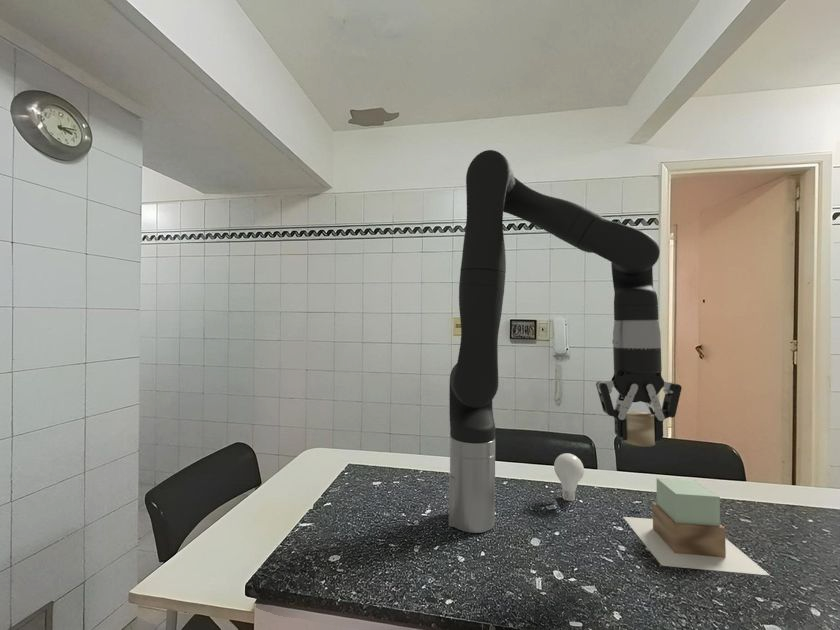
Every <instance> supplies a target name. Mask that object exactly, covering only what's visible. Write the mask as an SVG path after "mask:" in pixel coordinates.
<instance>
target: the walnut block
mask: <svg viewBox="0 0 840 630" xmlns="http://www.w3.org/2000/svg"><path fill="white" fill-rule="evenodd" d="M652 519H653V529H654V530H655V532H656V533H657V534H658V535H659V536H660V537H661V538H662V539H663V540H664V542H665V543H666V544H667V545H668V546H669V547H670V548H671V549H672V550H673V552H674V553H679V554H690V555H702V556H713V557H724V558H726V548H725V538H726V527H725V526H724V525H722V524H721V523H720V526H712V525H699V524H686V523H676V522H675V521H674V520H673V519H672V518H671V517H670V516H669V515H668V514H667V513H666V512H665V511H663V510H662V509H661V508H660V507H659V506H658V505H657V502H652Z"/></svg>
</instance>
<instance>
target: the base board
mask: <svg viewBox="0 0 840 630" xmlns="http://www.w3.org/2000/svg"><path fill="white" fill-rule="evenodd" d="M622 518H623V520H625V522H626V524H628V525H629V527H630V528H631V529H632V530H633V532H634V533H635V534H636V535H637V537H638V538H639V539H640V540H641V542H642V543H643V544H644V546H645V547H646V548H647V549H648V551H649V552H650V553H651V554H652V555H653V557H654V558H655V559H656V561H657V562H658V563H659V564H660V565H661V566H662V567H671V568H672V567H673V568H684V569H695V570H703V571H705V570H706V571H715V572H716V571H717V572H726V573H738V574H749V575H759V576H771V575H770V573H768V572H767V571H766V570H765V569H764V568H762V567H761V566H760V565H758V564H757V563H756V562H755V561H753V559H751V558H750V557H749V556H748V555H747V554H745V553H744V552H743V551H742V550H741V549H739V548H738V547H737V546H735V545H734V544H733V543H732V542H731V541H730V540H728V539H727V538H726V537H725V548H726V558H724V557H713V556H702V555H690V554H679V553H674V552H673V550H672V549H671V548H670V547H669V546H668V545H667V544H666V543H665V542H664V540H663V539H662V538H661V537H660V536H659V535H658V534H657V533H656V532H655V530H654V529H653V518H643V517H631V516H630V517H629V516H622Z"/></svg>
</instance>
